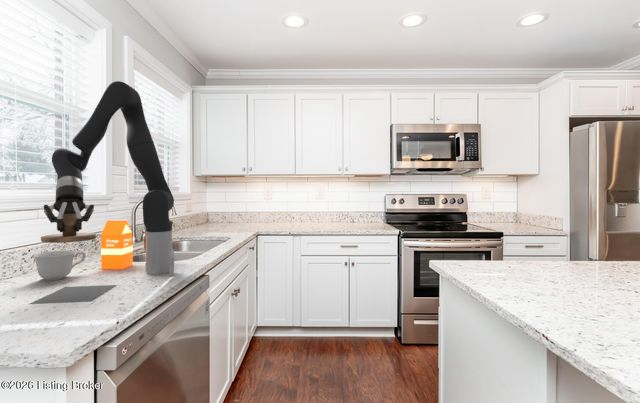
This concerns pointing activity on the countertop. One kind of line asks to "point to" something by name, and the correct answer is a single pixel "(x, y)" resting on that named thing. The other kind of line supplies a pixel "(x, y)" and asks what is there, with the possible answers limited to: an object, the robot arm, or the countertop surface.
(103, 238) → the orange juice
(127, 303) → the countertop surface
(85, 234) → the walnut lid
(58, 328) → the countertop surface
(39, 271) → the teacup
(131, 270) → the countertop surface
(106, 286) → the rubber mat
